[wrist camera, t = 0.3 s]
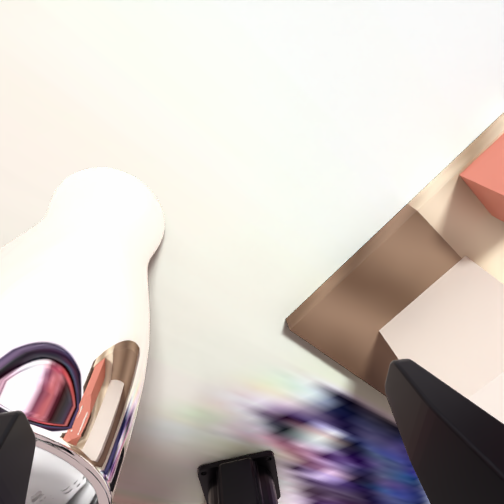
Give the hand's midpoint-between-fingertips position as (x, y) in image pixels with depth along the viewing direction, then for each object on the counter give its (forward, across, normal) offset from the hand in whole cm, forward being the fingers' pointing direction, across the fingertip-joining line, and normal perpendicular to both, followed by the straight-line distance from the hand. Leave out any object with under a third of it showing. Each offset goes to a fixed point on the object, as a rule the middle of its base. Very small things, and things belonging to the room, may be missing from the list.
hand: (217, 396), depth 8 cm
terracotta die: (+14, -18, +1) cm, 23 cm away
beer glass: (+15, +5, +2) cm, 16 cm away
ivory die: (+14, -17, +12) cm, 25 cm away
